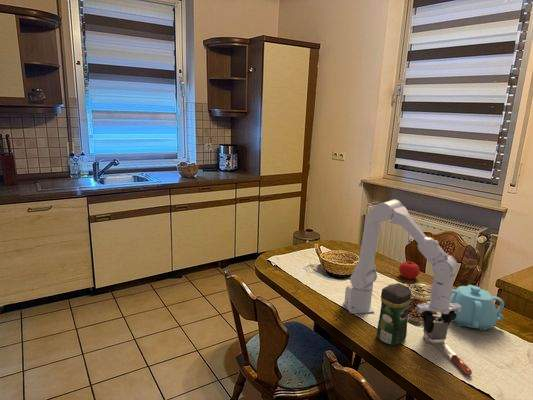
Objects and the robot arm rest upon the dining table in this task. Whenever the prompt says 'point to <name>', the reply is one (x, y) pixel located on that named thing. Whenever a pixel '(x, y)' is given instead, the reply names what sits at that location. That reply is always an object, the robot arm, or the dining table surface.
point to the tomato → (409, 270)
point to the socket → (438, 328)
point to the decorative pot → (476, 307)
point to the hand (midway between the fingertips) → (435, 330)
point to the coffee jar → (394, 314)
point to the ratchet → (449, 354)
